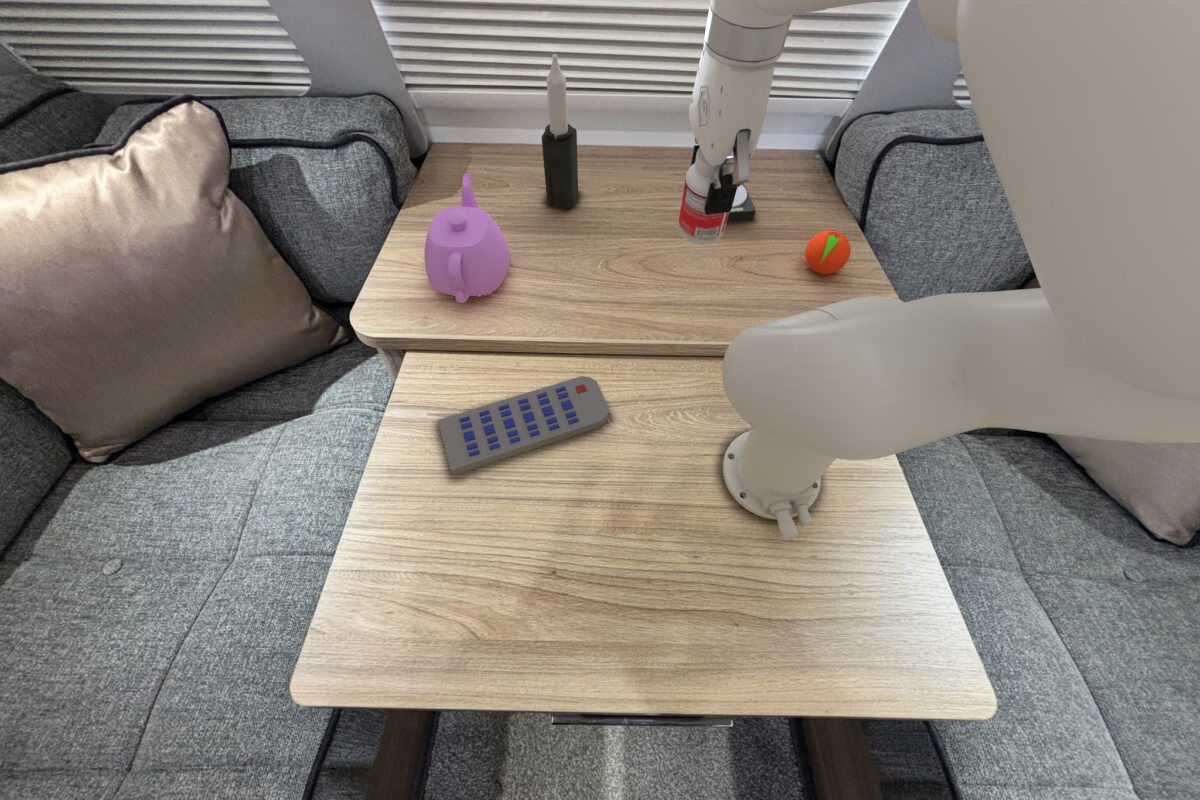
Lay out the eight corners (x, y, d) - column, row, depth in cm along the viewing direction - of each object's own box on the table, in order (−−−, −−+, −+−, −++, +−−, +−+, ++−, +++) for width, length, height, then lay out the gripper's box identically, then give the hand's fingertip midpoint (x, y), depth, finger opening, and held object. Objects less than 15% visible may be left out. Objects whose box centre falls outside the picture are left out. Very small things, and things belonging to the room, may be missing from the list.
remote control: (441, 426, 74) (437, 418, 72) (593, 379, 78) (593, 370, 76) (453, 476, 70) (449, 469, 68) (613, 423, 74) (613, 415, 72)
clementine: (830, 292, 87) (848, 260, 81) (790, 276, 89) (805, 243, 83) (846, 263, 91) (864, 230, 85) (807, 248, 93) (822, 214, 87)
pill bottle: (699, 208, 73) (716, 131, 63) (733, 232, 70) (755, 156, 61) (667, 228, 70) (679, 151, 61) (700, 253, 68) (718, 178, 59)
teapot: (507, 315, 84) (496, 259, 74) (423, 315, 84) (400, 259, 74) (516, 228, 95) (507, 169, 84) (441, 228, 94) (423, 169, 84)
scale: (752, 220, 96) (756, 207, 94) (704, 224, 96) (707, 212, 93) (738, 188, 101) (742, 175, 99) (692, 192, 100) (695, 179, 98)
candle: (545, 204, 98) (532, 59, 77) (554, 187, 101) (544, 43, 79) (571, 210, 97) (565, 65, 76) (580, 193, 100) (576, 48, 79)
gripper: (684, -10, 54) (663, 152, 69) (734, 84, 45) (697, 245, 61) (755, -14, 55) (719, 147, 70) (818, 78, 46) (760, 238, 61)
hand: (709, 191), depth 65 cm, fingers closed on pill bottle, 6 cm apart
